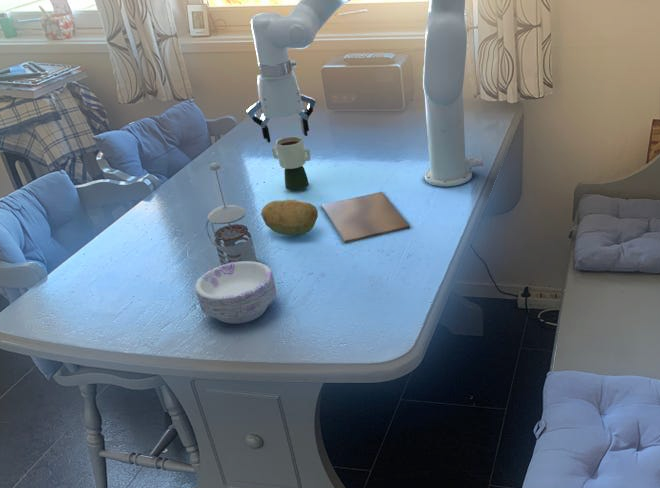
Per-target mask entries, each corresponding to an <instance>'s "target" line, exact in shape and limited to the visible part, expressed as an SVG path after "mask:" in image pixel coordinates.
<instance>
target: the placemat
mask: <svg viewBox="0 0 660 488" xmlns="http://www.w3.org/2000/svg"><path fill="white" fill-rule="evenodd" d="M321 208H322V209H323V211H324V212H325V214H326V215H327V217H328V218H329V220H330V222H331V223H332V225H333V227H334V228H335V230H336V232H337V233H338V234H339V236H340V237H341V239H342V241H343V243H345V244H347V243H350V242H351V243H352V242H356V241H360V240H364V239H368V238H372V237H373V238H374V237H376V236H377V237H378V236H381V235H386V234H390V233H394V232H398V231H399V232H400V231H402V230H407V229H411V226H410V224H409V223H408V221H406V219H405V218H404V217H403V216H402V215H401V213H400V212H399V211H398V210H397V209H396V207H395V206H394V205H393V203H391V201H390V200H389V199H388V197H387V196H386V195H385V194H384V193H383V192H382V191H380V192H375V193H370V194H366V195H365V194H364V195H360V196H356V197H352V198H347V199H343V200H338V201H333V202H329V203H324V204H321Z"/></svg>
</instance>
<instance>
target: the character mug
mask: <svg viewBox="0 0 660 488" xmlns="http://www.w3.org/2000/svg"><path fill="white" fill-rule="evenodd" d="M271 151H272V155H273V158H274V159H277V160H278V164H279V166H280V167H281V168H282V169H284V186H285V189H286V190H287V191H289V192H295V191H301V190H302V189H305V188H308V187H309V185H310V183H309V182H310V181H309V178H308V176H307V173H306V170H305V168H304V165H305V164H306V162H309V161H311V160H312V158H311V153H310V149H309V148H307V147H305V145H304V141H303V137H301V136H298V135H294V136H293V135H289V136H285V137H281V138H279V139H277V140H276V141H275V145H274V146H272V147H271Z"/></svg>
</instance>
